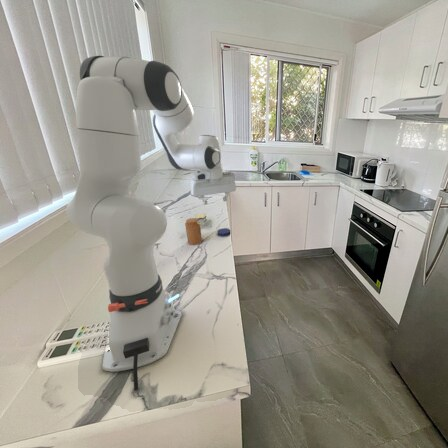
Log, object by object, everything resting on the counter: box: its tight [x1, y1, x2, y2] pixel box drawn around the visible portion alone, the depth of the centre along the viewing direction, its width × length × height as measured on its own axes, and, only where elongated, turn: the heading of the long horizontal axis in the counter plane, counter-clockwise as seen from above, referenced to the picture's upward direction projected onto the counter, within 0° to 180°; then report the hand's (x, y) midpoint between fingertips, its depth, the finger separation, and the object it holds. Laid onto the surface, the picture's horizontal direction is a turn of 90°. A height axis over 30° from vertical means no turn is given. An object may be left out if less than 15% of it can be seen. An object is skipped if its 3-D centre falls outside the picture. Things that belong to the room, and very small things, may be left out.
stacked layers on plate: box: [194, 212, 211, 229], centre depth 138 cm, size 10×9×6 cm
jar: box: [184, 217, 203, 245], centre depth 117 cm, size 6×6×12 cm
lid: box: [217, 227, 231, 238], centre depth 128 cm, size 7×6×2 cm
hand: (215, 202), depth 114 cm, fingers open, 8 cm apart
